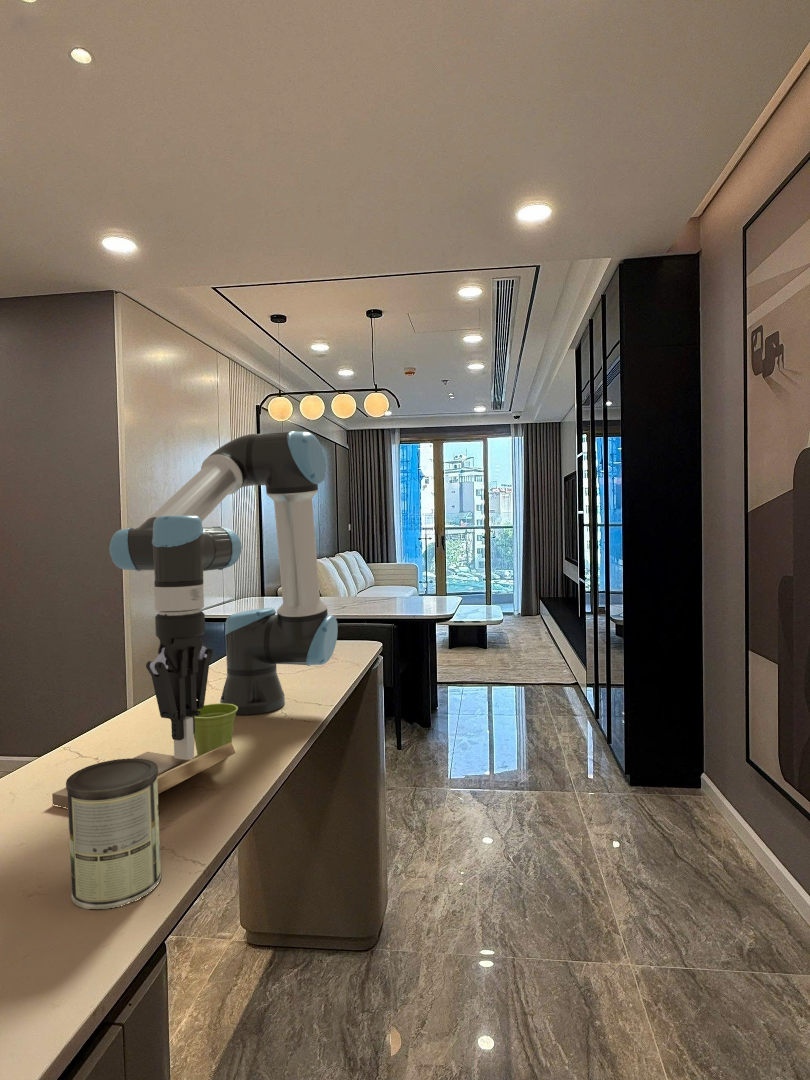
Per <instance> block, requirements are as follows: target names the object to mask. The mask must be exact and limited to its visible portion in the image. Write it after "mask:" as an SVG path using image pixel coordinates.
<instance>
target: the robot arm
mask: <svg viewBox="0 0 810 1080" xmlns="http://www.w3.org/2000/svg"><path fill="white" fill-rule="evenodd" d="M321 445H322V444H321V443H320V442H319V440H318V438H317V437H316V436H315V435H314V434H312V433H311V432H308V431H293V430H292V431H283V432H270V433H269V432H267V433H250V434H245V435H242V436H239V437H237V438H234V439H232V440H230V441H228V442H226V443H225V444H223V445H222V446H220V447H219V448H217V449H216V450H214V451H213V452H212V453H211V454H210V455H208V457H206V458H205V459H204V460H203V462H202V463H201V467H200V470H199V471H197V473H196V474H195V475H194V476H192V477H191V478H190V479H189V480H188V481H187V482H186V483H185V484H184V485H183V486H182V487H181V488H179V490H177V492H175V493H174V494H173V495H171V497H170V498H169V499H167V501H165V502H164V503H163V504H162V505H161V506H160V507H159V508H158V509H157V510H156V511H155V512H154V513H153V514H152V515H150V516H149V517H148V518H147V519H146V520H145V521H144V522H143V523H142V524H141V525H139V526H138V527H136V528H134V527H129V528H122V529H119V530H116V532H115V533H114V534H113V536H112V537H111V539H110V543H109V555H110V557H111V561H112V562H113V564H114V565H115V566H116V567H117V568H118V569H120V570H126V571H127V570H128V571H136V572H141V571H154V586H153V587H154V593H153V594H154V610H155V612H158V613H157V614H156V615H155V617H154V619H155V620H154V623H155V628H154V629H155V636H156V637H157V639H158V640H159V646H158V649H157V654H158V655H157V656H156V658H155V659H154V660H152V661H149V660H148V661H147V662H146V664H145V665H146V666H145V668H146V670H147V671H148V673H149V675H150V676H151V679H152V680H151V681H152V684H153V688H154V689H153V690H154V693H155V698H156V702H157V706H158V711H159V716H160V718H161V719H169V720H170V722H171V738H172V740H173V754H174V755H173V756H174V758H177V759H184V760H189V759H190V760H191V759H194V758H195V747H194V745H195V744H194V742H195V738H194V733H195V716H199V715H200V712H201V711H197V710H198V709H202V708H203V707H204V705H205V701H206V694H207V693H206V692H207V685H208V679H209V678H208V676H209V668H210V663H211V660H212V657H213V654H214V649H213V648H209V647H208V648H207V647H206V646H204V645H203V644H204V643H203V639H202V637H201V636H203V635H204V634H205V633H206V623H205V622H206V619H205V617H206V615H205V613H204V612H203V611H202V609H203V608H204V607H205V599H204V598H205V597H204V595H205V594H204V572H208V571H214V570H219V571H223V570H224V569H227V568H230V567H232V566H233V565H235V564H236V563H238V560H239V558H241V554H242V550H243V549H242V542H241V539H240V537H239V535H238V534H237V533H236V532H235V531H234V530H233V529H231V528H229V527H223V526H220V525H219V526H209V527H208V526H206V527H205V526H204V527H203V522H204V521H205V519H206V518H207V517H208V516H209V515H210V514H211V513H212V512H213V511H214V509H215V508H216V507H218V506H219V504H221V502H222V501H223V500H224V499H225V498H227V496H229V495H233V494H235V493H237V492H238V491H239V490H240V489H242V488H245V487H250V486H251V487H252V486H265V492H266V493H265V494H266V496H268V497H269V498H270V499H271V500H272V501H273V504H274V516H275V517H274V519H275V526H276V527H275V528H276V538H277V550H278V561H279V573H280V584H281V585H280V586H281V595H282V604H281V605H279V607H278V608H277V609H276V610H277V611H276V610H275V608H274V607H265V608H257V609H256V608H255V609H251V610H250V609H249V610H244V611H241V612H235V613H232V614H230V615H228V617H227V618H226V620H225V633H224V636H225V650H226V651H225V653H226V655H225V656H226V678H225V682H224V685H223V689H222V691H221V692H222V694H221V696H220V700H219V703H223V704H233V705H236V706H237V707H238V710H237V712H236V715H240V716H244V715H245V716H246V715H247V716H248V715H260V714H266V713H269V712H273V711H276V710H279V709H281V708H282V707H284V706H285V704H286V702H285V700H286V698H285V692H284V691H283V686H282V684H281V680H280V678H279V675H278V671H277V665H294V666H295V665H297V666H298V665H299V666H307V667H311V666H322V665H325V664H327V662H329V661H330V660H331V658H332V657H333V654H334V651H335V649H336V644H337V641H338V629H339V628H338V627H339V626H338V620H337V618H336V617H335V615H333V614H328V612H329V611H328V605H327V604H326V603H324V601H322V600H321V597H320V596H321V595H320V583H319V571H318V558H317V557H318V556H317V543H316V531H315V529H316V528H315V519H314V506H313V505H314V504H313V498H314V497H315V495H317V493H318V492H319V484H321V483H323V482H324V480H325V478H326V471H327V466H326V465H327V464H326V458H325V454H324V450H323V448H322V446H321ZM276 612H277V613H276Z"/></svg>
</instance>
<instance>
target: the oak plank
mask: <svg viewBox="0 0 810 1080" xmlns="http://www.w3.org/2000/svg"><path fill="white" fill-rule="evenodd" d="M236 753H237V752H236V750H235V748H234V746H233V741H232V742H231V743H228V744H226V745H224V746H221V747H219V748H217V749H215V750H212V751H210V752H208V753H205V754H203V755H201V756H198V755H197V757H193V758H191V759H190V760H189V761H187V762H185V763H183V764H181V765H179V766H177V767H175V768H173V769H171V770H169V771H167V772H165V773H163V774H161V775H159V776H157V786H158V795H159V794H161V793H162V792H164V791H167V790H169V789H171V788H172V787H175V786H176V785H179V784H181V783H182V782H184V781H186V780H187V779H190V778H191V777H193V776H196V775H197V774H200V773H201V772H202V771H205V770H207V769H208V768H210V767H212V766H214V765H216V764H217V763H220V762H221V761H223V760H225V759H228V758H229V757H231V756H232V755H235V754H236Z"/></svg>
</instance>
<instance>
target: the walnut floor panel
mask: <svg viewBox="0 0 810 1080" xmlns="http://www.w3.org/2000/svg"><path fill="white" fill-rule="evenodd" d="M133 758H134V759H145V760H150V761H153V762H155V763H156V764H157V765H158V775H157V776H159V775H161V774H163V773H165V772H167V771H169V770H171V769H173V768H175V767H177V766H179V765H181V764H183V763H185V762H187V761H189V760H191V759H189V760H184V759H177V758H174V755H171V754H164V753H159V752H158V753H157V752H151V751H146V752H143V753H141V754H139V755H137V756H134V757H132V759H133ZM67 793H68V792H67V789H66V787H64V788H62V789H59V790H57V791H55V792H53V793H52V794H51V795H52V800H51V801H52V805H53V804H54V805H58V806H61V807H66V808H68V794H67Z"/></svg>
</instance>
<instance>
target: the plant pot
mask: <svg viewBox="0 0 810 1080" xmlns="http://www.w3.org/2000/svg"><path fill="white" fill-rule="evenodd" d="M237 710H238V707H237V706H236V705H233V704H223V703H220V702H219V703H209V704H204V707H203V708H202V709H198V710H197V711H201V712H200V715H199V716H195V733H194V734H193V739H194V742H195V748H196V754H197V757H198V756H201V755H203V754H205V753H208V752H210V751H212V750H215V749H217V748H219V747H221V746H224V745H226V744H228V743H231V742H232V743H233V733H234V732H233V731H234V723H235V718H236V715H237V714H236V712H237Z"/></svg>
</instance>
